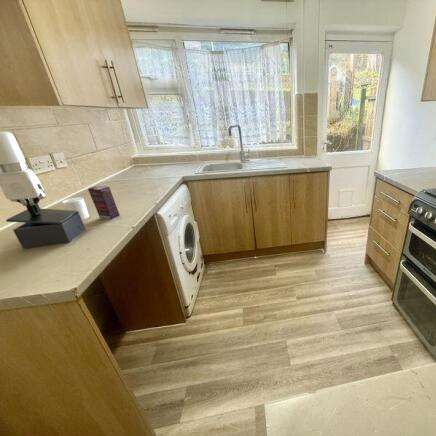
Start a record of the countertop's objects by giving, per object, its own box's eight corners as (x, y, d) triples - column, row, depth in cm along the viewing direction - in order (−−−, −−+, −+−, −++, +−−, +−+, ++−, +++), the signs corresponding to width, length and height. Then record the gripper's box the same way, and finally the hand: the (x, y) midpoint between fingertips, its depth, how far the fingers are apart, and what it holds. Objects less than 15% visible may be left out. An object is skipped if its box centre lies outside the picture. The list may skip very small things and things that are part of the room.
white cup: (67, 220, 120) (58, 202, 116) (84, 214, 127) (76, 196, 122) (77, 222, 117) (68, 203, 113) (94, 216, 124) (86, 197, 120)
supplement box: (121, 216, 123) (109, 186, 116) (112, 220, 118) (99, 189, 112) (109, 215, 125) (97, 185, 119) (99, 219, 121) (86, 188, 115)
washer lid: (6, 221, 89) (5, 219, 89) (30, 209, 100) (30, 207, 100) (61, 224, 94) (61, 222, 94) (78, 212, 105) (78, 210, 105)
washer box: (23, 250, 94) (12, 229, 91) (44, 235, 106) (35, 217, 102) (70, 244, 98) (61, 224, 94) (86, 230, 109) (78, 212, 105)
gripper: (-22, 171, 84) (5, 220, 91) (30, 168, 87) (52, 215, 94) (-4, 167, 90) (20, 212, 98) (44, 164, 94) (63, 208, 101)
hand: (36, 213), depth 96 cm, fingers closed
